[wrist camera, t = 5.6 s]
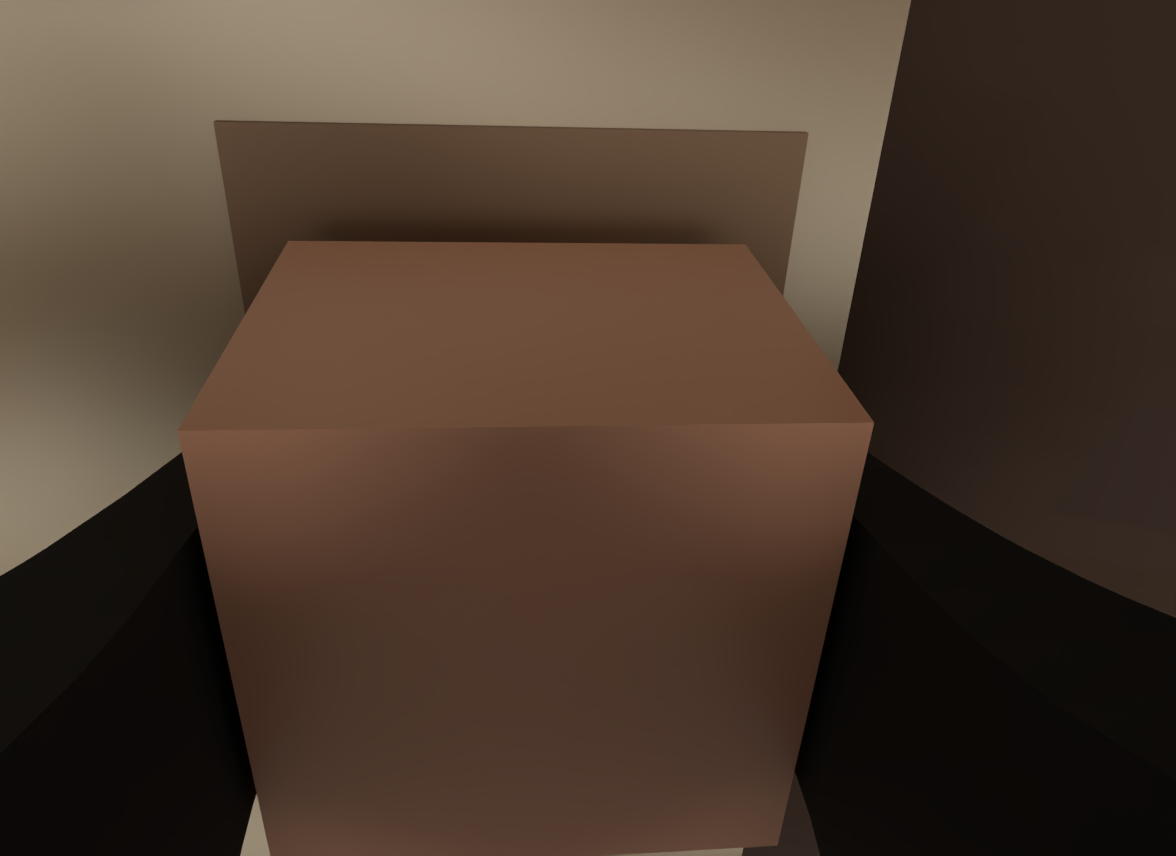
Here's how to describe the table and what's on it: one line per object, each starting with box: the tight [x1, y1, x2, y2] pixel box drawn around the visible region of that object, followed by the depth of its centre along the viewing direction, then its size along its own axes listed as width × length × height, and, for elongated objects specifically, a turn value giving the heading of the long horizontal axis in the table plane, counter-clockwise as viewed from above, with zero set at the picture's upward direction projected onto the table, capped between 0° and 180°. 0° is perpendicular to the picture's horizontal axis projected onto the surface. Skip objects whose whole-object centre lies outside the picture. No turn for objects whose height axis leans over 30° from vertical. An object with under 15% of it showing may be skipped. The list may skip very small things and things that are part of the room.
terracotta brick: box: [177, 241, 874, 856], centre depth 10 cm, size 5×5×4 cm
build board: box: [0, 0, 911, 856], centre depth 12 cm, size 23×15×1 cm, turn 178°
